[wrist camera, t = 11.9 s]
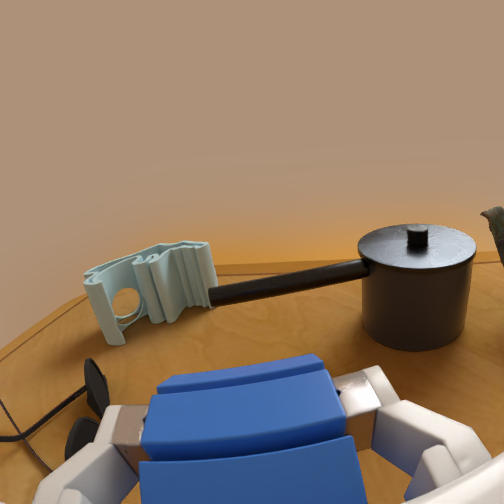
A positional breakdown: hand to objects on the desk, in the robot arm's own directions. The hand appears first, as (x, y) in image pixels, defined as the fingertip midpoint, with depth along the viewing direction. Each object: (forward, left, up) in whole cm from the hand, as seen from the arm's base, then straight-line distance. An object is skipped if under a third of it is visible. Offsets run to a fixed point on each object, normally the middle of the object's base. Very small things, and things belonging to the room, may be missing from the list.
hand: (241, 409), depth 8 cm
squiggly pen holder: (-14, +35, -15) cm, 41 cm away
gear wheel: (0, -1, -8) cm, 8 cm away
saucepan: (+11, +22, -15) cm, 29 cm away
